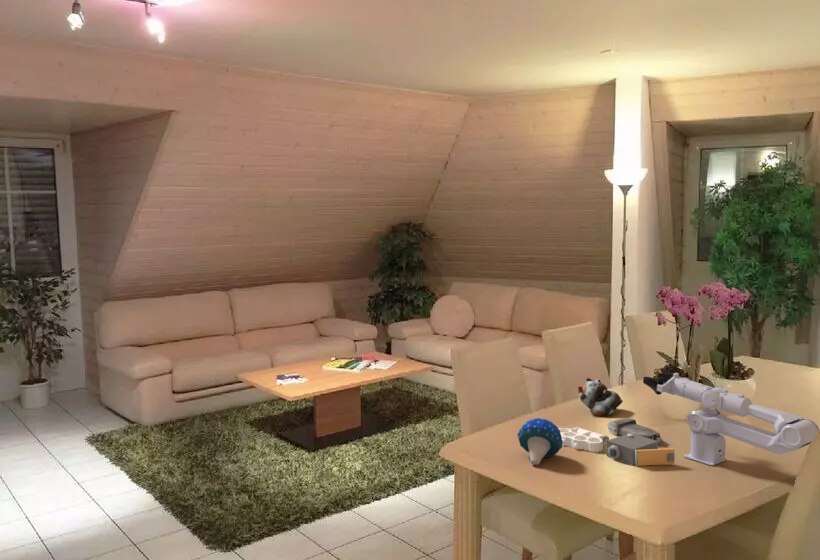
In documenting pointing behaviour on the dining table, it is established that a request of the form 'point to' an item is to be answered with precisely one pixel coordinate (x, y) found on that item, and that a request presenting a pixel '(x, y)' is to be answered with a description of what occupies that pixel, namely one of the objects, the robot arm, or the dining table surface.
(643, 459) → the side door
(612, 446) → the grey box with knob
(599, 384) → the lucky cat figurine
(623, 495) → the dining table surface
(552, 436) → the mushroom
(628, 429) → the handheld device
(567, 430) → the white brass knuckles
